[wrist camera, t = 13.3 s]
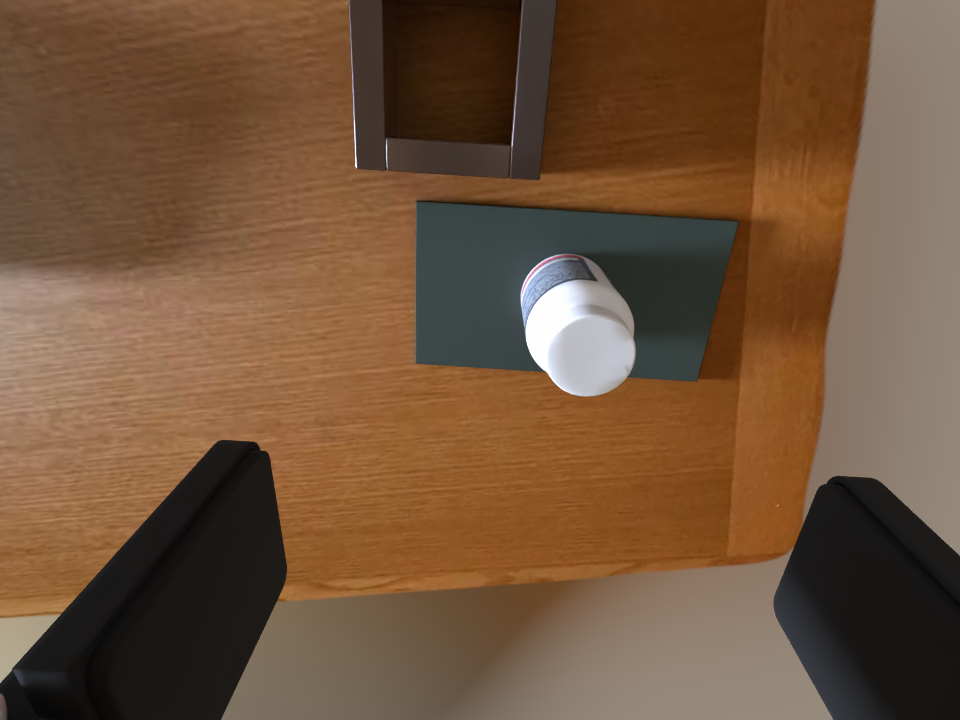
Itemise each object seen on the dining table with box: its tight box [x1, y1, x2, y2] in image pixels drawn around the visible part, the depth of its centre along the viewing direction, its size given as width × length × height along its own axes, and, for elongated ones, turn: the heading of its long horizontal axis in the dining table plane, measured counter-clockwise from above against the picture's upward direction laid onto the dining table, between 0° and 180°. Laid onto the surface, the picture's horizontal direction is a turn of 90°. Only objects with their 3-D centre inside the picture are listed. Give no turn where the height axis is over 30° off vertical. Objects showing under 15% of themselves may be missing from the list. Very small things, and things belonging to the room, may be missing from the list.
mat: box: [415, 201, 738, 382], centre depth 30 cm, size 18×10×1 cm, turn 87°
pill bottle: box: [521, 254, 636, 396], centre depth 26 cm, size 5×5×9 cm
